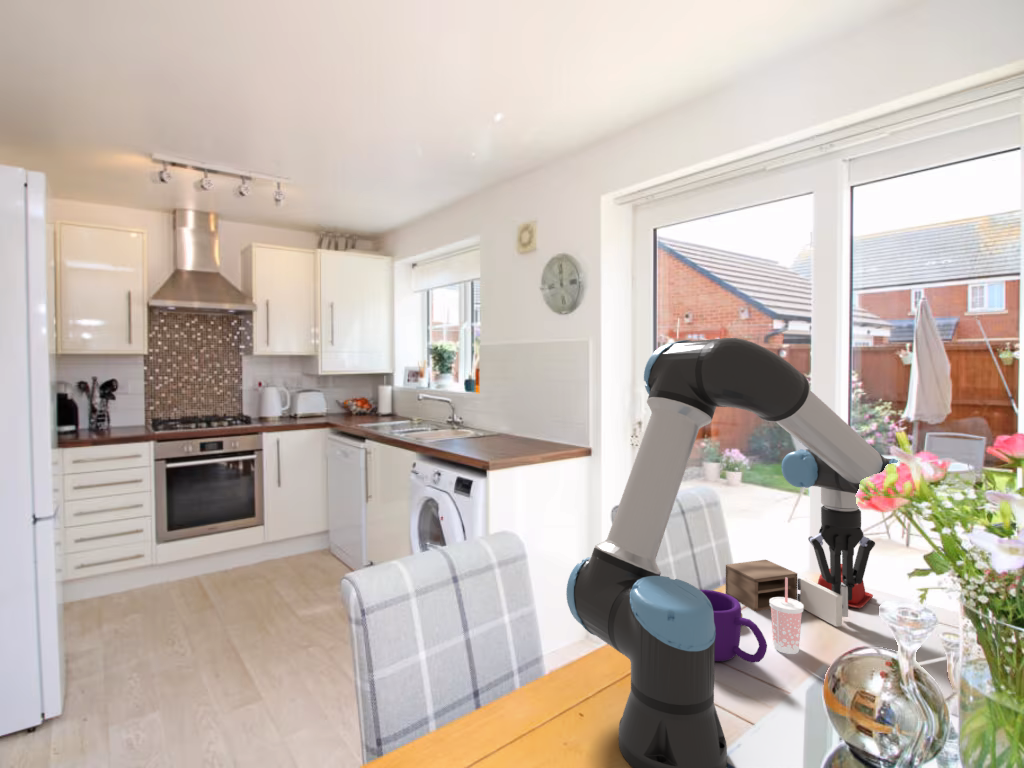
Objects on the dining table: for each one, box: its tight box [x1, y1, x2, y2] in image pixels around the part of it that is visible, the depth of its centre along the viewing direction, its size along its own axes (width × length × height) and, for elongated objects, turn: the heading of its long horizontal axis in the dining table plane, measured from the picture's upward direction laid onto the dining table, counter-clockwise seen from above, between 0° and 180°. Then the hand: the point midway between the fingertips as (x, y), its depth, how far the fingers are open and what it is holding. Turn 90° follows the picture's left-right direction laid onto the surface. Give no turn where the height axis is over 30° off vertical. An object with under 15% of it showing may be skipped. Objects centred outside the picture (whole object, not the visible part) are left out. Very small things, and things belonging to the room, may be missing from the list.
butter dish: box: [817, 563, 874, 609], centre depth 133 cm, size 12×12×8 cm
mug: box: [699, 589, 768, 664], centre depth 106 cm, size 17×11×10 cm, turn 35°
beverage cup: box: [769, 577, 804, 655], centre depth 109 cm, size 6×6×14 cm
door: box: [797, 577, 843, 628], centre depth 123 cm, size 12×3×6 cm, turn 14°
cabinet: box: [725, 559, 798, 612], centre depth 132 cm, size 10×12×8 cm
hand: (842, 614), depth 121 cm, fingers closed
